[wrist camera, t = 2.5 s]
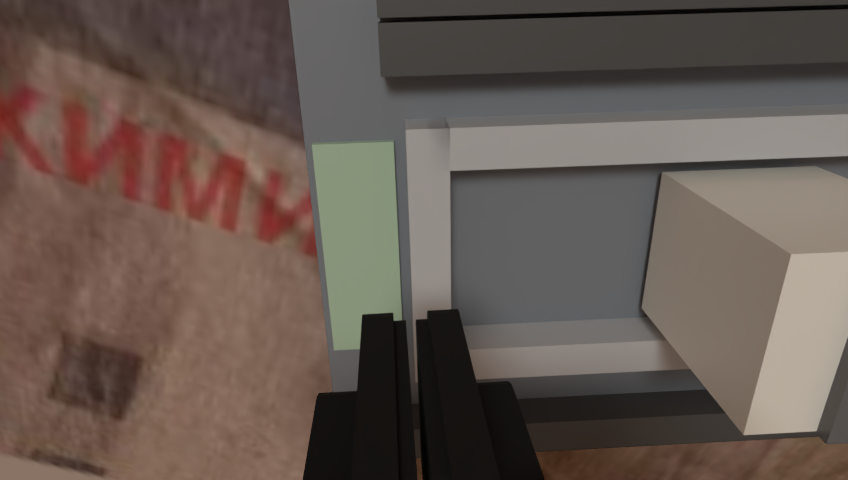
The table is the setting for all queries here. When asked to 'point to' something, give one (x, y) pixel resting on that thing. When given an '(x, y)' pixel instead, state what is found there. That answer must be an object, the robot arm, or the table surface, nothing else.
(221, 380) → the table surface
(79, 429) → the table surface
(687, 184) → the toggle
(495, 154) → the panel
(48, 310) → the table surface
